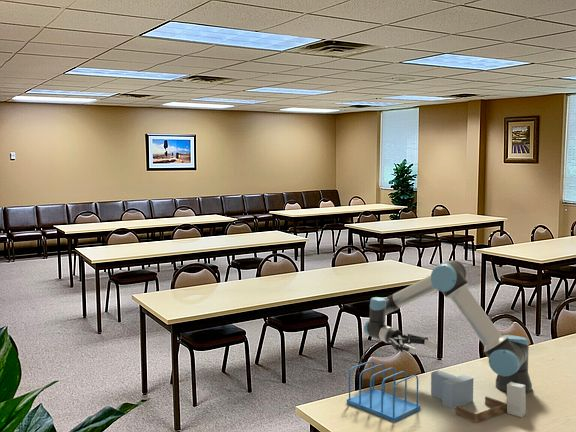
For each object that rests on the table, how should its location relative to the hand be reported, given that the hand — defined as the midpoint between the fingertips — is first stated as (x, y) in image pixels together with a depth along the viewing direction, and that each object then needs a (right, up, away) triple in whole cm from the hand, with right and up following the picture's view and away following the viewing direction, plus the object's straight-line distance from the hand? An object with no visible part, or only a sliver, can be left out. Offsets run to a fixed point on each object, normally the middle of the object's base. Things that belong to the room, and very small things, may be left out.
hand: (426, 348), depth 255 cm
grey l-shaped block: (+7, -19, -9) cm, 23 cm away
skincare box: (+30, -20, -25) cm, 44 cm away
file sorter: (-22, -20, -16) cm, 34 cm away
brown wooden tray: (+16, -20, -22) cm, 34 cm away
